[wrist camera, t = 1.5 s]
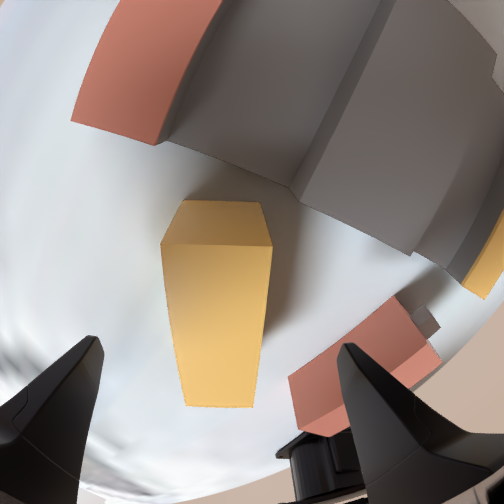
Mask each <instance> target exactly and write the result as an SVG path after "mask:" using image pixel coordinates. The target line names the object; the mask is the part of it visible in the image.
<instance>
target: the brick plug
mask: <svg viewBox="0 0 504 504" xmlns="http://www.w3.org/2000/svg"><path fill="white" fill-rule="evenodd" d="M440 328H441V327H440V326H439V324H438V323H437V321H436V320H435V318H434V317H433V315H432V314H431V313H430V311H429V310H428V309H427V307H426V306H425V305H424V304H422V305H421V306H420V307H419V308H418V309H417V310H415V311H414V312H413V313H412V314H411V315H410V314H409V313H408V312H407V310H406V309H405V308H404V307H403V306H402V304H401V303H400V302H399V301H398V300H397V299H396V298H395V296H394V295H393V296H392V297H391V298H389V299H388V300H387V301H386V302H385V303H384V304H383V305H381V306H380V307H379V308H378V309H377V310H376V311H374V312H373V313H372V314H371V315H370V316H369V317H367V318H366V319H365V320H364V321H363V322H361V323H360V324H359V325H358V326H356V327H355V328H354V329H353V330H351V331H350V332H349V333H348V334H346V335H345V336H344V337H342V338H341V339H340V340H339V341H337V342H336V343H335V344H333V345H332V346H331V347H329V348H328V349H327V350H325V351H324V352H323V353H321V354H320V355H318V356H317V357H316V358H314V359H313V360H311V361H310V362H309V363H307V364H306V365H304V366H303V367H301V368H300V369H299V370H297V371H296V372H294V373H293V374H291V375H290V376H288V380H289V385H290V391H291V396H292V401H293V406H294V411H295V416H296V421H297V426H298V429H299V430H302V431H306V432H310V433H314V434H318V435H322V436H326V437H331V436H333V435H334V434H336V433H338V432H340V431H342V430H344V429H346V428H348V427H349V426H350V423H349V419H348V416H347V412H346V409H345V405H344V402H343V398H342V392H341V386H340V380H339V374H338V368H337V356H338V353H339V351H340V348H341V346H342V344H343V343H347V342H353V343H355V344H356V345H357V346H359V347H360V348H361V349H362V350H363V351H364V352H366V353H367V354H368V355H369V356H370V357H371V358H373V359H374V360H375V361H376V362H377V363H379V364H380V365H381V366H382V367H383V368H384V369H386V370H387V371H388V372H389V373H390V374H391V375H393V376H394V377H395V378H396V379H397V380H398V381H400V382H401V383H402V384H403V385H404V386H405V387H407V388H408V389H409V388H411V387H412V386H413V385H415V384H416V383H417V382H419V381H420V380H421V379H423V378H424V377H425V376H427V375H428V374H429V373H430V372H432V371H433V370H434V369H435V368H437V367H438V366H439V365H440V364H441V363H443V362H442V360H441V359H440V357H439V356H438V354H437V353H436V351H435V350H434V348H433V347H432V345H431V344H430V342H429V341H428V338H430V337H431V336H432V335H433V334H434V333H435V332H436V331H437V330H439V329H440Z"/></svg>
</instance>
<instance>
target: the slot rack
mask: <svg viewBox="0 0 504 504" xmlns="http://www.w3.org/2000/svg"><path fill="white" fill-rule="evenodd" d="M496 56H497V54H496V53H495V51H494V50H493V49H492V48H491V46H490V45H489V44H488V43H487V42H486V40H485V39H484V38H483V37H482V36H481V34H480V33H479V32H478V31H477V30H476V29H475V28H474V27H473V26H472V24H471V23H470V22H469V21H468V20H467V19H466V18H465V17H464V16H463V15H462V14H461V13H460V12H459V11H458V10H457V9H456V8H455V7H454V6H453V5H452V4H451V3H450V2H448V1H447V0H120V2H119V4H118V5H117V7H116V9H115V11H114V13H113V14H112V16H111V18H110V20H109V22H108V24H107V26H106V28H105V30H104V32H103V34H102V36H101V39H100V41H99V43H98V45H97V47H96V50H95V52H94V54H93V57H92V59H91V62H90V64H89V67H88V69H87V72H86V74H85V77H84V80H83V83H82V85H81V88H80V91H79V94H78V97H77V100H76V104H75V107H74V110H73V114H72V117H71V121H73V122H76V123H80V124H84V125H87V126H91V127H95V128H98V129H102V130H105V131H108V132H112V133H115V134H118V135H122V136H125V137H128V138H131V139H135V140H138V141H141V142H144V143H147V144H150V145H153V146H155V145H158V144H160V143H162V142H164V141H170V142H173V143H176V144H179V145H181V146H184V147H187V148H190V149H193V150H196V151H198V152H201V153H204V154H206V155H209V156H212V157H214V158H217V159H220V160H222V161H225V162H227V163H230V164H233V165H235V166H238V167H240V168H243V169H245V170H247V171H250V172H252V173H255V174H257V175H260V176H262V177H264V178H267V179H269V180H271V181H274V182H276V183H278V184H281V185H283V186H285V187H288V188H289V189H290V190H291V192H292V193H293V194H294V196H295V197H296V199H297V200H298V201H299V202H300V203H302V204H304V205H307V206H309V207H311V208H313V209H315V210H318V211H320V212H322V213H324V214H326V215H328V216H331V217H333V218H335V219H337V220H339V221H341V222H343V223H345V224H347V225H349V226H352V227H354V228H356V229H358V230H360V231H362V232H364V233H366V234H368V235H370V236H372V237H374V238H376V239H378V240H380V241H382V242H384V243H385V244H387V245H389V246H391V247H393V248H395V249H397V250H399V251H401V252H403V253H404V254H406V255H408V256H411V254H412V253H413V251H415V252H417V253H418V254H420V255H422V256H424V257H425V258H427V259H429V260H430V261H432V262H434V263H436V264H437V265H439V266H441V267H442V268H444V269H445V270H447V271H448V272H449V273H450V274H451V275H452V276H453V277H454V278H455V279H456V280H457V281H458V282H459V283H460V284H461V285H462V286H463V287H464V288H466V289H468V290H469V291H471V292H473V293H474V294H476V295H477V296H479V297H481V298H482V299H484V300H485V298H486V297H487V295H488V294H489V292H490V291H491V289H492V288H493V286H494V285H495V283H496V281H497V280H498V278H499V277H500V275H501V273H502V272H503V270H504V93H503V92H502V91H501V89H500V88H499V86H498V85H497V84H496V82H495V81H494V80H493V78H492V73H493V69H494V65H495V61H496Z"/></svg>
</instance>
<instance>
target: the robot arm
mask: <svg viewBox="0 0 504 504" xmlns="http://www.w3.org/2000/svg"><path fill="white" fill-rule="evenodd" d="M103 361H104V350H103V348H102V345H101V343H100V340H99V338H98V337H97V336H91V335H88V336H86V337H85V338H84V339H82V340H81V341H80V342H79V343H77V344H76V345H75V346H74V347H72V348H71V349H70V350H69V351H67V352H66V353H65V354H64V355H63V356H61V357H60V358H59V359H58V360H57V361H55V362H54V363H53V364H52V365H51V366H49V367H48V368H47V369H46V370H45V371H43V372H42V373H41V374H40V375H39V376H37V377H36V378H35V379H34V380H33V381H32V382H30V383H29V384H28V386H26V387H24V388H23V389H22V390H21V391H20V392H19V393H17V394H16V395H15V396H14V397H13V398H11V399H10V400H9V401H7V402H6V403H5V404H3V405H2V406H0V504H77V495H78V488H79V480H80V473H81V467H82V461H83V456H84V450H85V445H86V440H87V436H88V431H89V427H90V422H91V418H92V414H93V410H94V406H95V402H96V398H97V394H98V390H99V384H100V378H101V372H102V366H103ZM337 368H338V374H339V380H340V386H341V392H342V398H343V402H344V405H345V409H346V412H347V416H348V419H349V423H350V427H351V430H342V431H340V432H338V433H336V434H334V435H333V436H331V437H326V436H322V435H318V434H314V433H310V432H305V433H303V434H302V435H301V436H299V437H298V438H297V439H295V440H294V441H293V442H291V443H290V444H289V445H287V446H286V447H285V448H283V449H282V450H280V451H279V452H277V453H276V454H275V455H276V458H278V459H289V460H290V466H291V472H292V479H293V485H294V491H295V498H296V501H295V502H289V503H279V504H334V503H338V502H341V501H345V500H348V499H352V498H355V497H358V496H361V495H364V494H367V496H368V497H367V498H361V499H358V500H355V501H351V502H348V503H345V504H504V434H485V433H470V432H467V431H465V430H463V429H461V428H460V427H458V426H456V425H455V424H454V423H452V422H451V421H449V420H448V419H446V418H445V417H443V416H442V415H440V414H439V413H437V412H436V411H434V410H433V409H432V408H431V407H429V406H428V405H427V404H426V403H424V402H423V401H422V400H421V399H420V398H418V397H417V396H415V394H414V393H413V392H411V391H410V390H409V389H408V388H407V387H405V386H404V385H403V384H402V383H401V382H400V381H398V380H397V379H396V378H395V377H394V376H393V375H391V374H390V373H389V372H388V371H387V370H386V369H384V368H383V367H382V366H381V365H380V364H379V363H377V362H376V361H375V360H374V359H373V358H371V357H370V356H369V355H368V354H367V353H366V352H364V351H363V350H362V349H361V348H360V347H359V346H357V345H356V344H355V343H353V342H347V343H343V344H342V346H341V348H340V351H339V353H338V356H337ZM361 470H362V471H361Z"/></svg>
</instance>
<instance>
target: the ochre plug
mask: <svg viewBox="0 0 504 504" xmlns="http://www.w3.org/2000/svg"><path fill="white" fill-rule="evenodd" d="M160 245H161V256H162V266H163V275H164V284H165V292H166V299H167V307H168V314H169V320H170V327H171V333H172V339H173V345H174V351H175V356H176V361H177V367H178V372H179V377H180V381H181V386H182V391H183V395H184V400H185V404H186V406H195V407H218V408H253V404H254V397H255V389H256V382H257V375H258V367H259V360H260V352H261V344H262V336H263V328H264V320H265V312H266V304H267V295H268V287H269V278H270V269H271V260H272V251H273V245H272V242H271V238H270V235H269V231H268V228H267V224H266V221H265V218H264V214H263V211H262V207H261V204H260V202H242V201H206V200H183V201H182V203H181V205H180V207H179V208H178V210H177V212H176V214H175V216H174V218H173V220H172V222H171V224H170V226H169V228H168V230H167V231H166V233H165V235H164V237H163V239H162V241H161V243H160Z"/></svg>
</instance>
